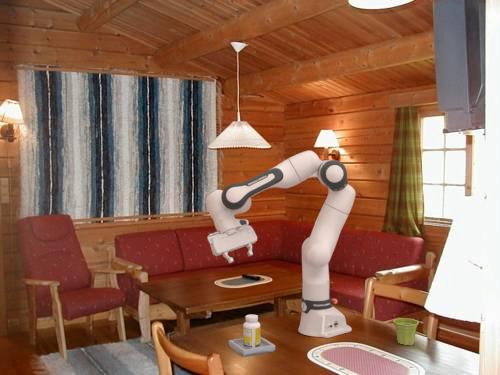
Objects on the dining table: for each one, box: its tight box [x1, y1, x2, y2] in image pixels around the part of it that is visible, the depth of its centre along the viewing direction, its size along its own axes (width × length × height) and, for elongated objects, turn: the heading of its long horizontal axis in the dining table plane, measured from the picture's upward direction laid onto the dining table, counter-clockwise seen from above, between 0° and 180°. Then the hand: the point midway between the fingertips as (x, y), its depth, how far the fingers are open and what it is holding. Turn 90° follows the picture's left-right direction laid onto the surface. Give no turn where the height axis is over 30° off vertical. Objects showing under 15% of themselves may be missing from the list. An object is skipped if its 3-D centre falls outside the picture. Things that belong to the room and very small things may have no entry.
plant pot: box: [393, 317, 419, 346], centre depth 210 cm, size 9×9×9 cm
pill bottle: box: [242, 313, 262, 349], centre depth 204 cm, size 6×6×12 cm
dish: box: [228, 336, 276, 358], centre depth 204 cm, size 13×13×2 cm
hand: (241, 258), depth 217 cm, fingers open, 8 cm apart
